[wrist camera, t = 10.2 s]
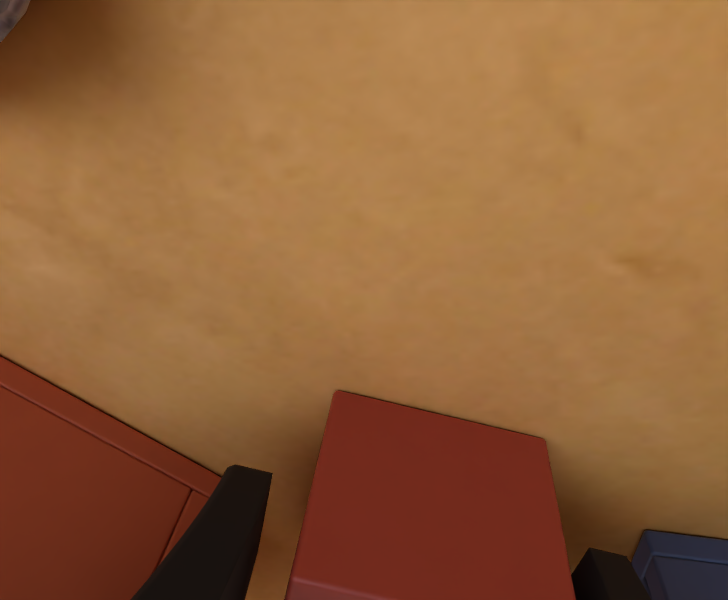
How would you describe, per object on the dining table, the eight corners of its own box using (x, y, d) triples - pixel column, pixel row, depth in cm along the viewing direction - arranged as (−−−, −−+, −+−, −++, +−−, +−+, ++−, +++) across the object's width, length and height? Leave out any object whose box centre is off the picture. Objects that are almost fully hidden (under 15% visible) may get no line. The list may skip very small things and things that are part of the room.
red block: (546, 437, 12) (588, 647, 8) (481, 572, 14) (493, 784, 11) (334, 388, 12) (289, 578, 8) (301, 529, 14) (253, 729, 10)
